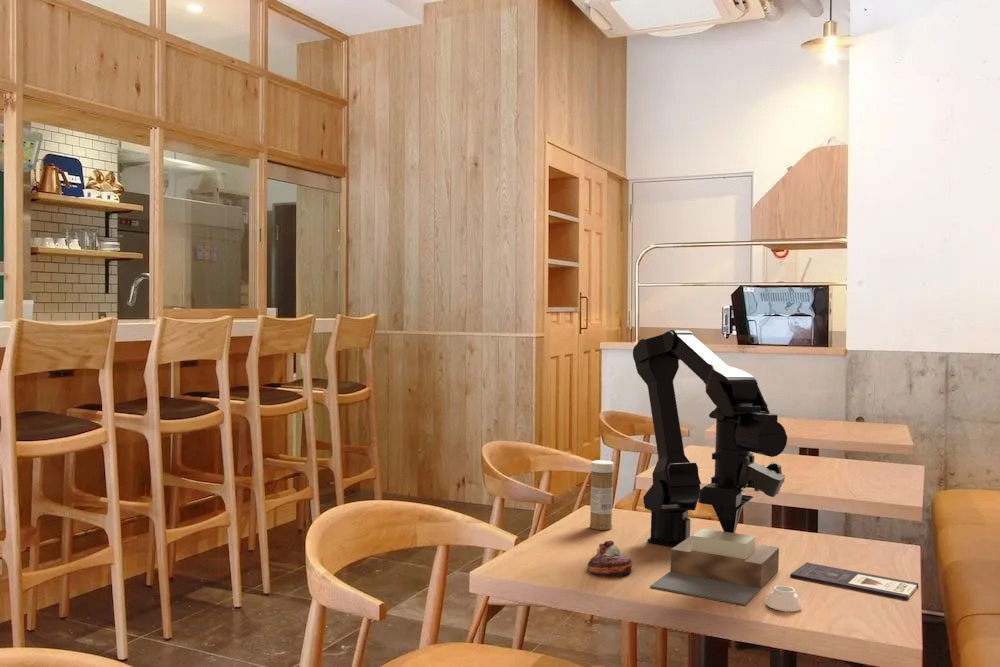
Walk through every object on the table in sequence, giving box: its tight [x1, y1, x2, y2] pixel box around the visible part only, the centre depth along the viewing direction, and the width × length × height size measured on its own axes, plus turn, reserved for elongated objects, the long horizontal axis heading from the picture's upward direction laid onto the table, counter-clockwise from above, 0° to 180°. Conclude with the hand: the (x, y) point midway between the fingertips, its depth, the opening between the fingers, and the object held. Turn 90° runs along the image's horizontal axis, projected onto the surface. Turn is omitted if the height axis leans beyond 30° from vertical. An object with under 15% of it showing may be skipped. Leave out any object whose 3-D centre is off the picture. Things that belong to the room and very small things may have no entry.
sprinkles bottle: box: [589, 459, 615, 531], centre depth 177 cm, size 5×5×14 cm
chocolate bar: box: [789, 562, 919, 601], centre depth 146 cm, size 9×1×18 cm
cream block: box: [691, 528, 756, 559], centre depth 148 cm, size 9×6×2 cm, turn 60°
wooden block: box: [669, 533, 780, 590], centre depth 149 cm, size 15×12×4 cm
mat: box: [649, 571, 761, 606], centre depth 140 cm, size 15×9×1 cm, turn 60°
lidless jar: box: [765, 585, 803, 613], centre depth 132 cm, size 5×3×5 cm
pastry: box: [587, 540, 633, 578], centre depth 148 cm, size 8×8×5 cm
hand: (729, 538), depth 151 cm, fingers closed
